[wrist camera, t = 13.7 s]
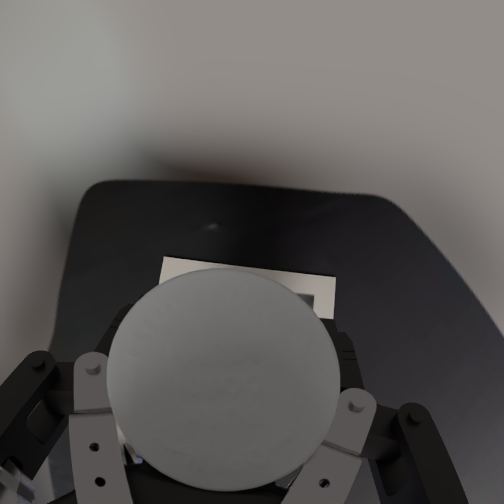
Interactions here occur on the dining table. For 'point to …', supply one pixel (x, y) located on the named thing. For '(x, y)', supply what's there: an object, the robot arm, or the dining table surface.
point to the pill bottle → (223, 379)
